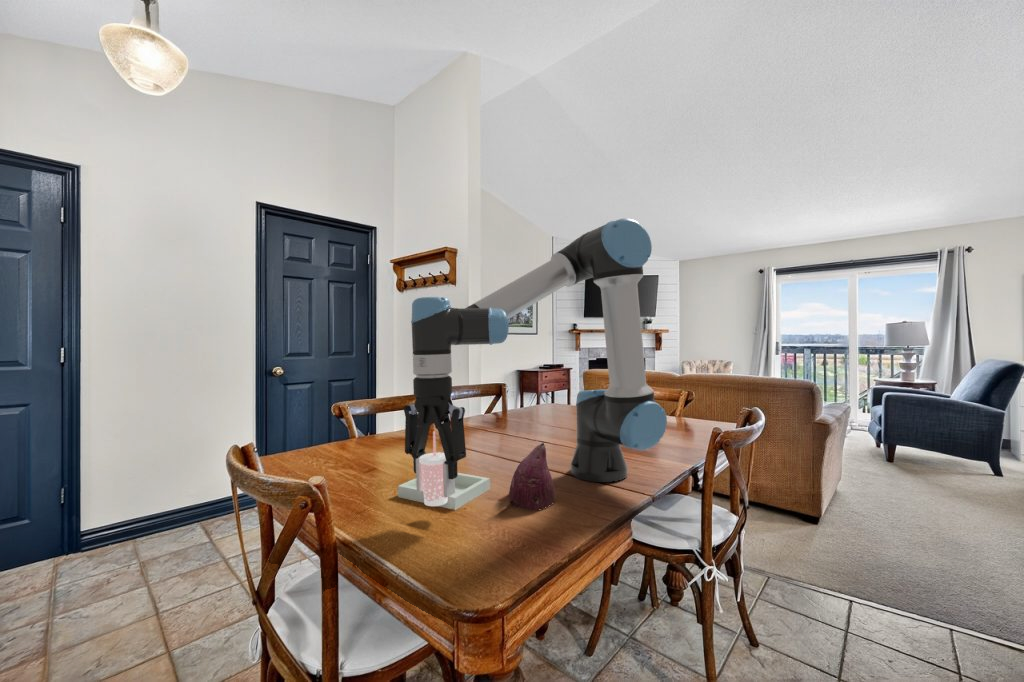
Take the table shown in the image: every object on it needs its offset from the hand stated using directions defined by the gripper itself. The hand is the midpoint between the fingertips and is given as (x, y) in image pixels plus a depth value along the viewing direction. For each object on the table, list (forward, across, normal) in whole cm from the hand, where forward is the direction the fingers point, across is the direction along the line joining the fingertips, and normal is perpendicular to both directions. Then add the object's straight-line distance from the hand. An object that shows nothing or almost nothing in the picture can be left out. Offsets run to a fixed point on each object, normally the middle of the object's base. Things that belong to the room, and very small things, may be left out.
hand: (435, 491), depth 82 cm
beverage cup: (+2, 0, 0) cm, 2 cm away
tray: (+7, -7, +12) cm, 16 cm away
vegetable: (+7, +12, +20) cm, 24 cm away
